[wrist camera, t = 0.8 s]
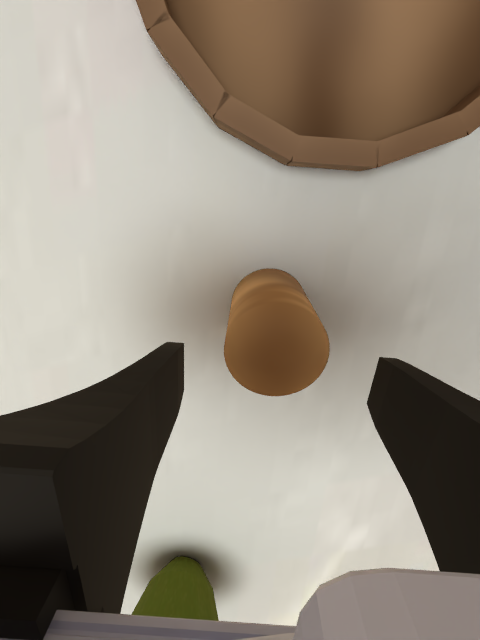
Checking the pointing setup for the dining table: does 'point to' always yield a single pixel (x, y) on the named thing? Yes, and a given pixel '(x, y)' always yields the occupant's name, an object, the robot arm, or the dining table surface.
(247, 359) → the brown wooden cylinder
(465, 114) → the ring tray
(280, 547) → the dining table surface
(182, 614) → the apple
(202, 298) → the dining table surface
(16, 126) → the dining table surface
